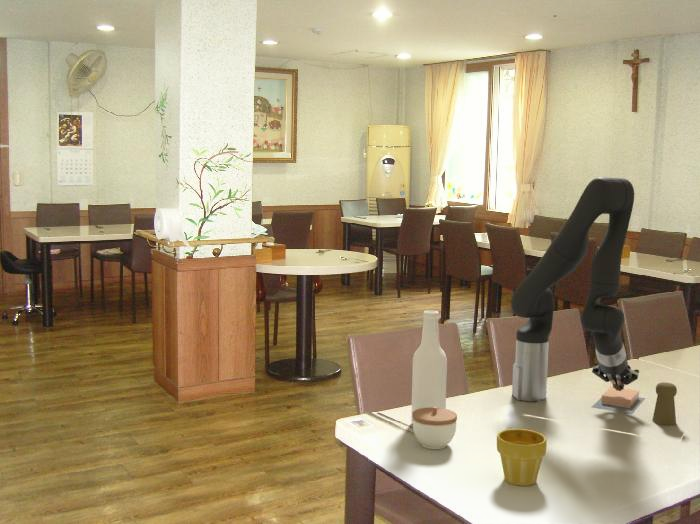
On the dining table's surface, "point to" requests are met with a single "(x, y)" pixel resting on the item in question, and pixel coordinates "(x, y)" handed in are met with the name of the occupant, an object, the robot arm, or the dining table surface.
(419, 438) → the lidded jar
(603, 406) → the mat
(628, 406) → the tile
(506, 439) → the plant pot
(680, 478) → the dining table surface
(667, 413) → the pepper mill
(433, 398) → the alcohol
